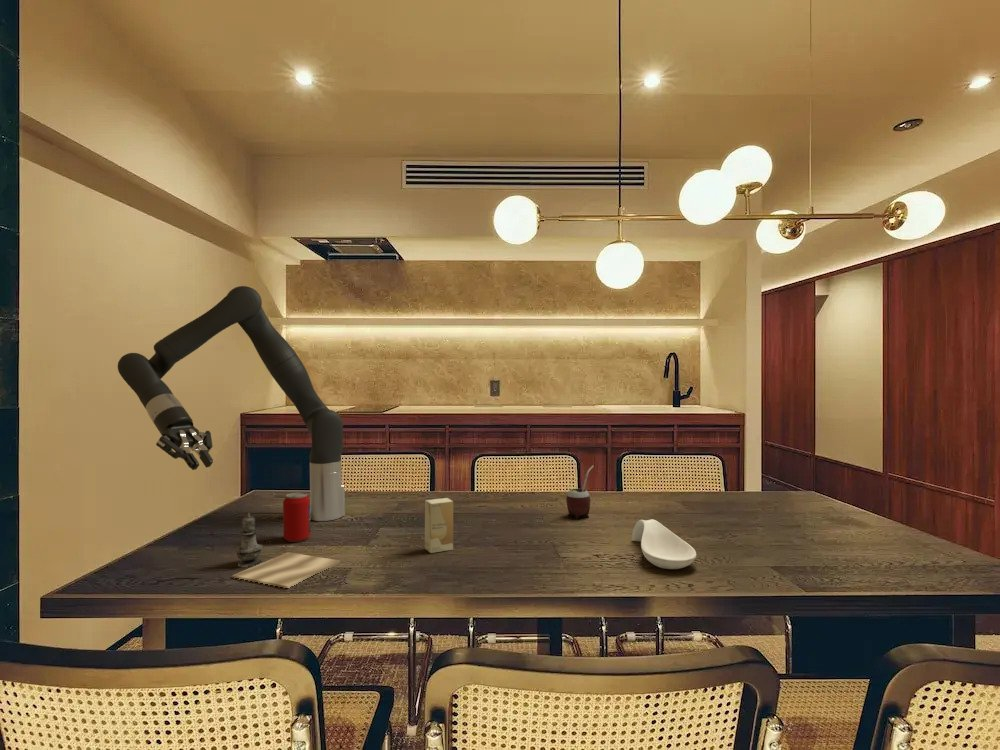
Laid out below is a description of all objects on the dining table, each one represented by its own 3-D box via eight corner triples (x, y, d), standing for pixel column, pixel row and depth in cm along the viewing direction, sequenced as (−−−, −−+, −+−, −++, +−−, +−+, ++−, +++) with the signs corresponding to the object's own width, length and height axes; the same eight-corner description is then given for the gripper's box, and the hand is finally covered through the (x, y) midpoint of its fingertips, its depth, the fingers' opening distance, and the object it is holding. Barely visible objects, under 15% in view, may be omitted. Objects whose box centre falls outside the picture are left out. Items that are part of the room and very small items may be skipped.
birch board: (232, 578, 118) (232, 575, 117) (288, 554, 132) (288, 552, 132) (287, 589, 111) (287, 586, 111) (340, 563, 126) (340, 560, 126)
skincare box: (430, 554, 131) (429, 503, 131) (424, 548, 135) (423, 500, 135) (454, 549, 134) (453, 500, 134) (448, 544, 138) (447, 496, 138)
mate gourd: (564, 519, 160) (563, 468, 160) (570, 512, 167) (570, 464, 167) (588, 521, 157) (588, 469, 157) (594, 514, 164) (594, 465, 164)
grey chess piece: (252, 568, 123) (251, 516, 123) (229, 567, 124) (228, 515, 124) (268, 559, 129) (267, 509, 129) (246, 558, 130) (245, 508, 130)
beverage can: (316, 536, 146) (315, 492, 146) (299, 544, 140) (298, 498, 140) (295, 534, 149) (294, 491, 148) (278, 542, 142) (277, 496, 142)
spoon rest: (706, 574, 116) (706, 540, 116) (654, 577, 115) (653, 543, 115) (660, 540, 140) (660, 512, 140) (616, 542, 138) (616, 514, 138)
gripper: (148, 407, 130) (183, 460, 125) (201, 403, 142) (235, 451, 138) (134, 428, 132) (168, 482, 127) (188, 423, 145) (221, 471, 140)
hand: (203, 466), depth 132 cm, fingers open, 3 cm apart
